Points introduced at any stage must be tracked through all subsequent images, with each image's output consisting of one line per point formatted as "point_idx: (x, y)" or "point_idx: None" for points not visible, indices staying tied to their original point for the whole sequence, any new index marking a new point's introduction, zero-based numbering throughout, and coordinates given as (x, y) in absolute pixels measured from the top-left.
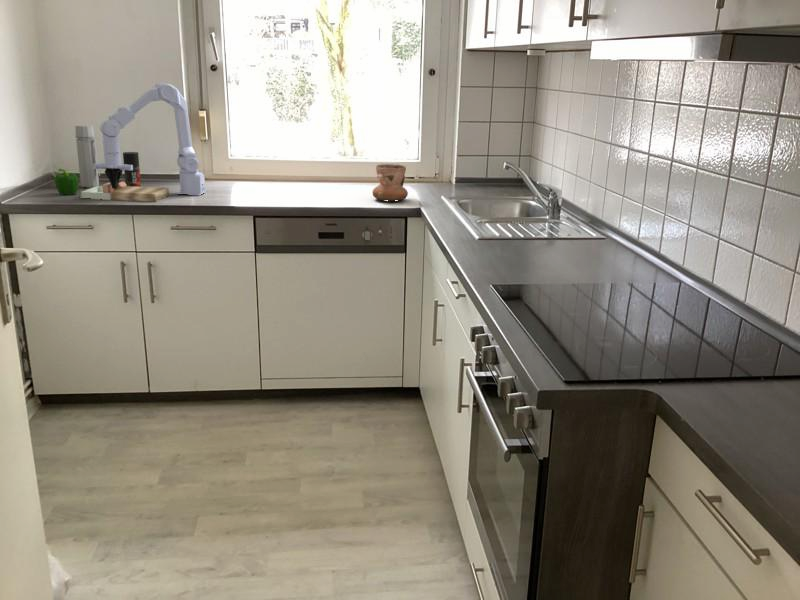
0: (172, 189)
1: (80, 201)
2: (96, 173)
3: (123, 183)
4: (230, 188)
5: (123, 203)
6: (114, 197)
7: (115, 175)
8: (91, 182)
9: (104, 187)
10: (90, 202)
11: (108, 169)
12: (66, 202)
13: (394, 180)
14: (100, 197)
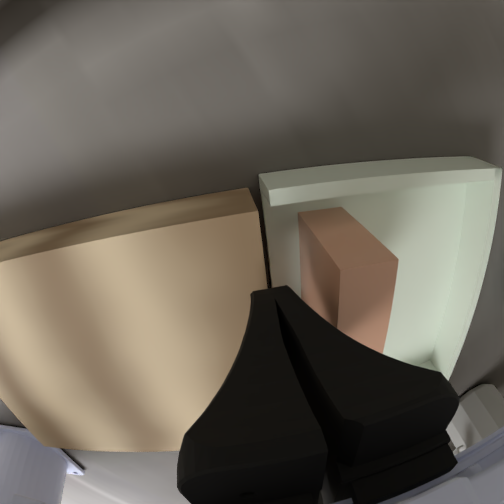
0: (155, 488)
1: (431, 53)
2: None
3: None
4: None
5: (64, 89)
6: (224, 197)
7: (231, 400)
8: (471, 410)
9: (363, 247)
10: (351, 24)
11: (408, 470)
12: (474, 13)
13: None
14: (350, 167)
